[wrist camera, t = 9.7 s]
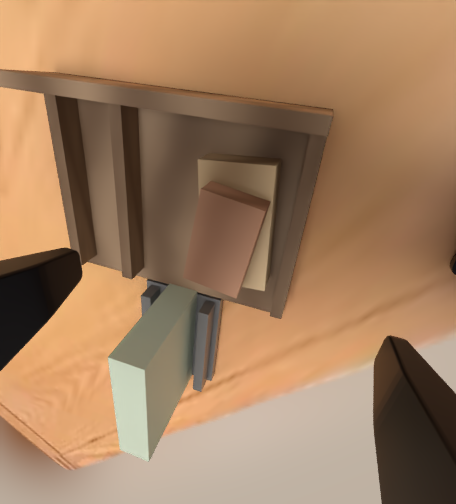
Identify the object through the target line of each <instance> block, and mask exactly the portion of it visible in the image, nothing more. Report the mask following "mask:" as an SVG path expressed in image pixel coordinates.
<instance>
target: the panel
mask: <svg viewBox="0 0 456 504" xmlns="http://www.w3.org/2000/svg"><path fill="white" fill-rule="evenodd" d="M196 306H197V291H195V290H191V289H188V288H184V287H180V286H177V285H173V284H169V285H168V286H167V287H166V289H165V290H164V291H163V292H162V293H161V295H160V296H159V297H158V298H157V299H156V300H155V302H154V303H153V304H152V305H151V306H150V308H149V309H148V310H147V311H146V312H145V314H144V315H143V316H142V317H141V318H140V320H139V321H138V322H137V323H136V324H135V326H134V327H133V328H132V329H131V330H130V331H129V333H128V334H127V335H126V336H125V337H124V339H123V340H122V341H121V342H120V343H119V345H118V346H117V347H116V348H115V349H114V351H113V352H112V353H111V354H110V355H109V357H108V362H109V370H110V378H111V385H112V393H113V400H114V408H115V415H116V423H117V431H118V438H119V446H120V450H122V451H124V452H126V453H129V454H131V455H134V456H136V457H139V458H141V459H143V460H146V461H148V462H149V461H150V458H151V457H152V454H153V453H154V451H155V448H156V447H157V444H158V442H159V440H160V438H161V436H162V434H163V432H164V430H165V428H166V426H167V424H168V422H169V420H170V418H171V416H172V414H173V412H174V410H175V408H176V406H177V404H178V402H179V400H180V398H181V396H182V394H183V392H184V390H185V388H186V386H187V384H188V382H189V380H190V378H191V376H192V364H193V349H194V335H195V320H196Z"/></svg>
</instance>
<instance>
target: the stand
mask: <svg viewBox="0 0 456 504" xmlns="http://www.w3.org/2000/svg"><path fill="white" fill-rule="evenodd" d="M168 285H169V284H166V283H162V282H159V281H155V280H151V279H148V280H147V290H146V291H145V292H144V293H143V294H142V295H141V303H142V316H143V315H144V314H145V312H146V311H147V310H148V309H149V308H150V306H151V305H152V304H153V303H154V302H155V300H156V299H157V298H158V297H159V296H160V295H161V293H162V292H163V291H164V290H165V289H166V287H167V286H168ZM222 305H223V299H220V298H216V297H213V296H209V295H206V294H202V293H198V292H197V306H196V320H195V335H194V349H193V364H192V375H194V381H193V389H194V390H197V391H200V392H201V391H202V389H203V387H204V385H205V382H206V380H210V381H212V378H213V376H214V371H215V363H216V355H217V346H218V338H219V330H220V321H221V313H222Z"/></svg>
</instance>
